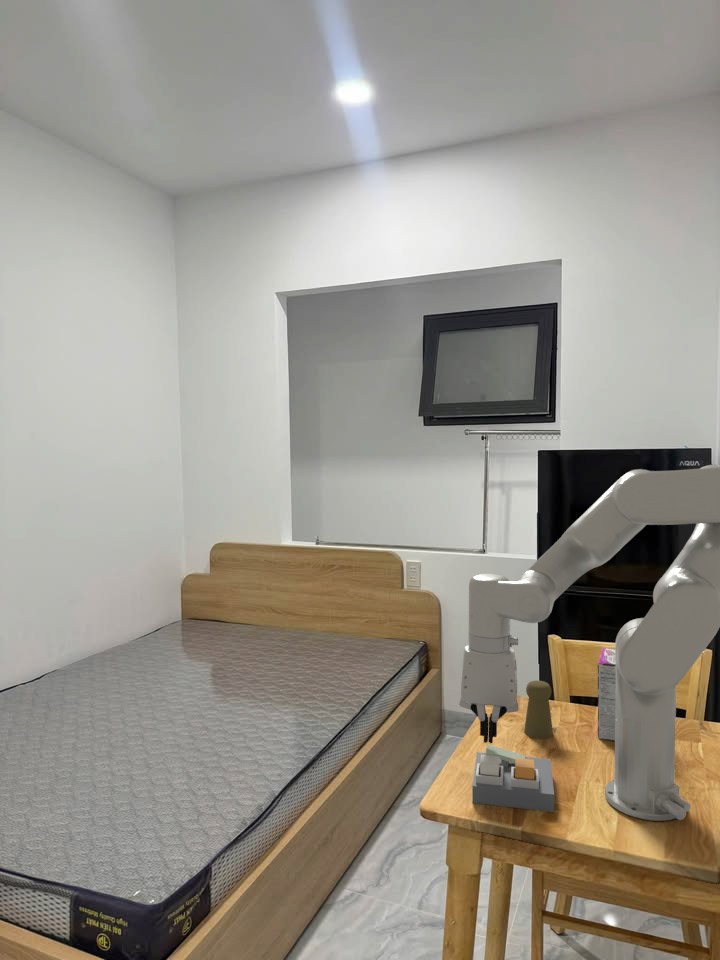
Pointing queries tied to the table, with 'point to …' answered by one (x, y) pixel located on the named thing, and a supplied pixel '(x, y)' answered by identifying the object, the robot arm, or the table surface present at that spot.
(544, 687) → the cork
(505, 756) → the block
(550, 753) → the table surface
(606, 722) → the candy bar box
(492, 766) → the cream button
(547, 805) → the switch panel
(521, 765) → the orange button
